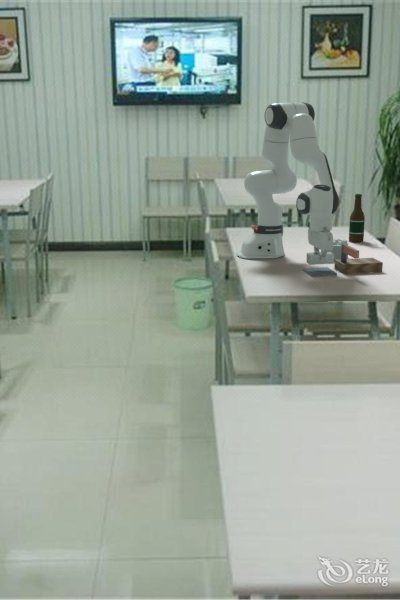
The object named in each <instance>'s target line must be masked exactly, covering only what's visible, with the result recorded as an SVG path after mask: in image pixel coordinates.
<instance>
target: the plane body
mask: <svg viewBox="0 0 400 600" xmlns="http://www.w3.org/2000/svg"><path fill="white" fill-rule="evenodd" d="M383 263H384V262H383V261H381V260H379V259H376V258H374V257H359V258H348V259H347V262H341V259H338V260H335V262H334V267H333V269H334V271H337V272H339V273H340V274H343V275H352V274H353V273H356V274H370V272H374V273H382V272H383V267H384V266H383V265H384V264H383ZM353 275H354V274H353Z"/></svg>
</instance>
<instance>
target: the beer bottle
mask: <svg viewBox="0 0 400 600" xmlns="http://www.w3.org/2000/svg"><path fill="white" fill-rule="evenodd" d="M362 196H363V195H362V193H356V194H354V197H355V198H354V207H353V210H352V212H351V214H350V216H349V225H348V226H349V227H348V228H349V229H348V242H350V243H354V244H355V243H357V244H358V243H363V242H364V239H365V237H364V236H365V212H364V211H363V210H362Z"/></svg>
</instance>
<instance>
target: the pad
mask: <svg viewBox="0 0 400 600" xmlns="http://www.w3.org/2000/svg"><path fill="white" fill-rule="evenodd" d="M302 271H303V272H304V273H305V274H307V275H309V276H310V277H319V276H320V277H321V276H323V277H325V276H337V274H338V273H337V272H336V270H333V269H331V268H329V267H328V266H325V267H306V268H305V267H303V268H302Z"/></svg>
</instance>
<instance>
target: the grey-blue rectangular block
mask: <svg viewBox="0 0 400 600" xmlns="http://www.w3.org/2000/svg"><path fill="white" fill-rule="evenodd" d="M321 253H322V252H321V251H319V252H306V263H307V264H308V265H310V266H311V265H313V266H314V265H331V264H332V265H333V264H334V265H335V262H334V254H333V253H331V252H327V254H326V260H325V261H322V260H320V256H321Z"/></svg>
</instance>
